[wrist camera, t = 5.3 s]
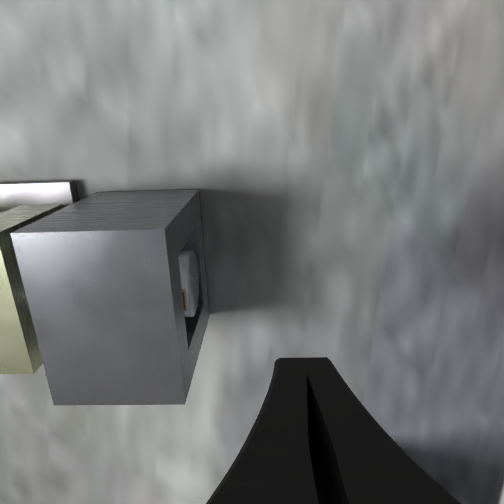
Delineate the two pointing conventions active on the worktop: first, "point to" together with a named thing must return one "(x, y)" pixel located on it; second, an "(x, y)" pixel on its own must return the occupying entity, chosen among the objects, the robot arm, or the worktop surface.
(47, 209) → the shaft rig
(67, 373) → the grey housing block
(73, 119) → the worktop surface
